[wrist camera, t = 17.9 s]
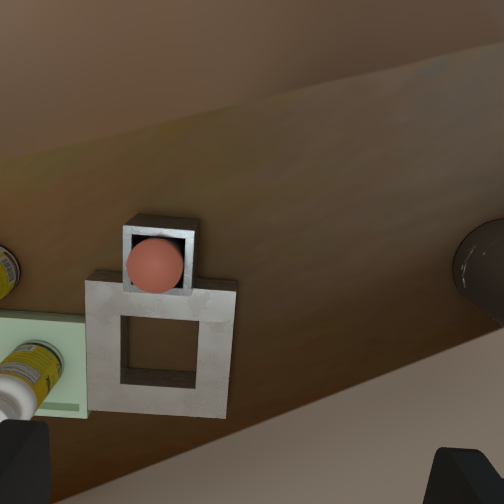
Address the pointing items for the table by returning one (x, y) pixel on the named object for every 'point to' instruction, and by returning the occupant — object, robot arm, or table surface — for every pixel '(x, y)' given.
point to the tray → (65, 342)
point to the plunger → (156, 263)
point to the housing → (158, 306)
